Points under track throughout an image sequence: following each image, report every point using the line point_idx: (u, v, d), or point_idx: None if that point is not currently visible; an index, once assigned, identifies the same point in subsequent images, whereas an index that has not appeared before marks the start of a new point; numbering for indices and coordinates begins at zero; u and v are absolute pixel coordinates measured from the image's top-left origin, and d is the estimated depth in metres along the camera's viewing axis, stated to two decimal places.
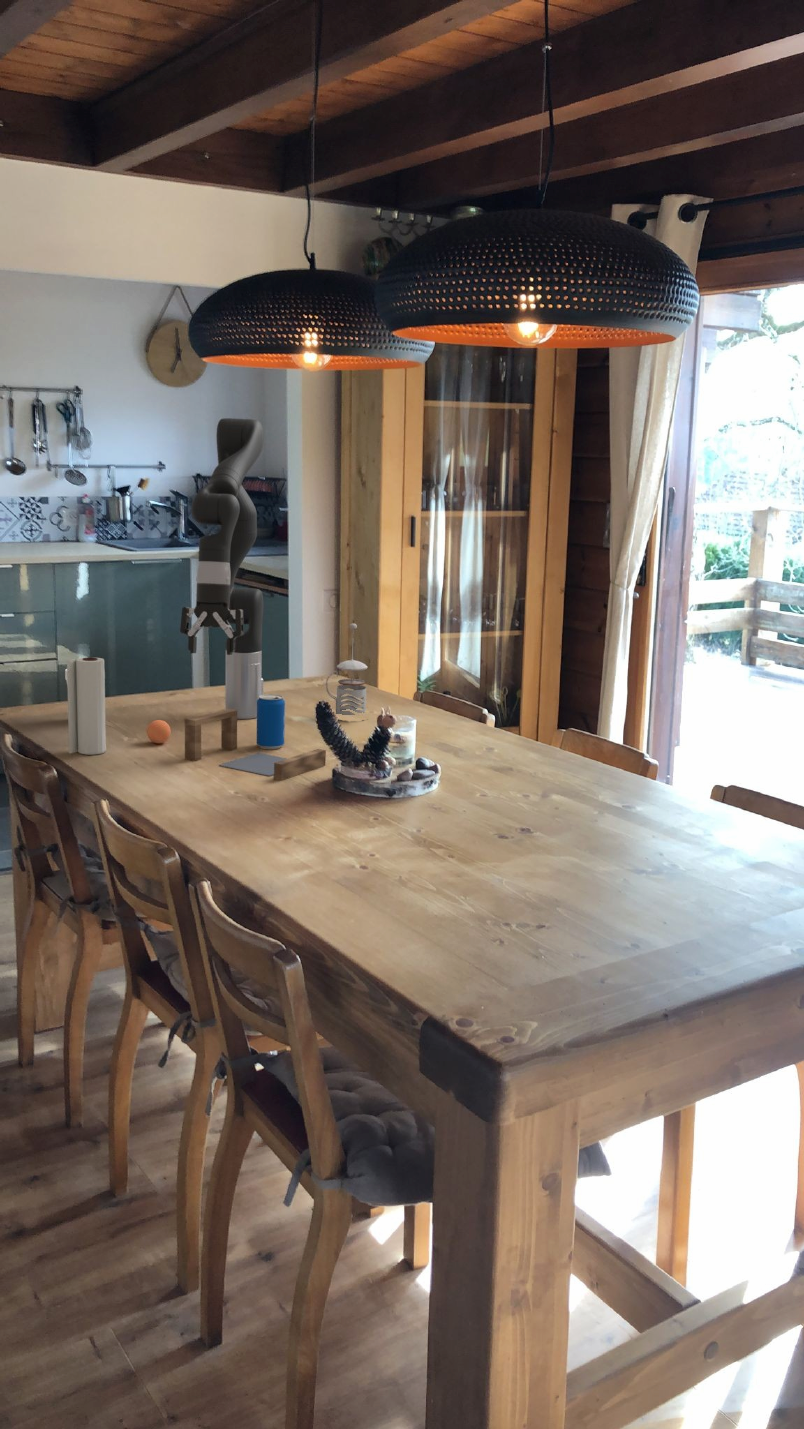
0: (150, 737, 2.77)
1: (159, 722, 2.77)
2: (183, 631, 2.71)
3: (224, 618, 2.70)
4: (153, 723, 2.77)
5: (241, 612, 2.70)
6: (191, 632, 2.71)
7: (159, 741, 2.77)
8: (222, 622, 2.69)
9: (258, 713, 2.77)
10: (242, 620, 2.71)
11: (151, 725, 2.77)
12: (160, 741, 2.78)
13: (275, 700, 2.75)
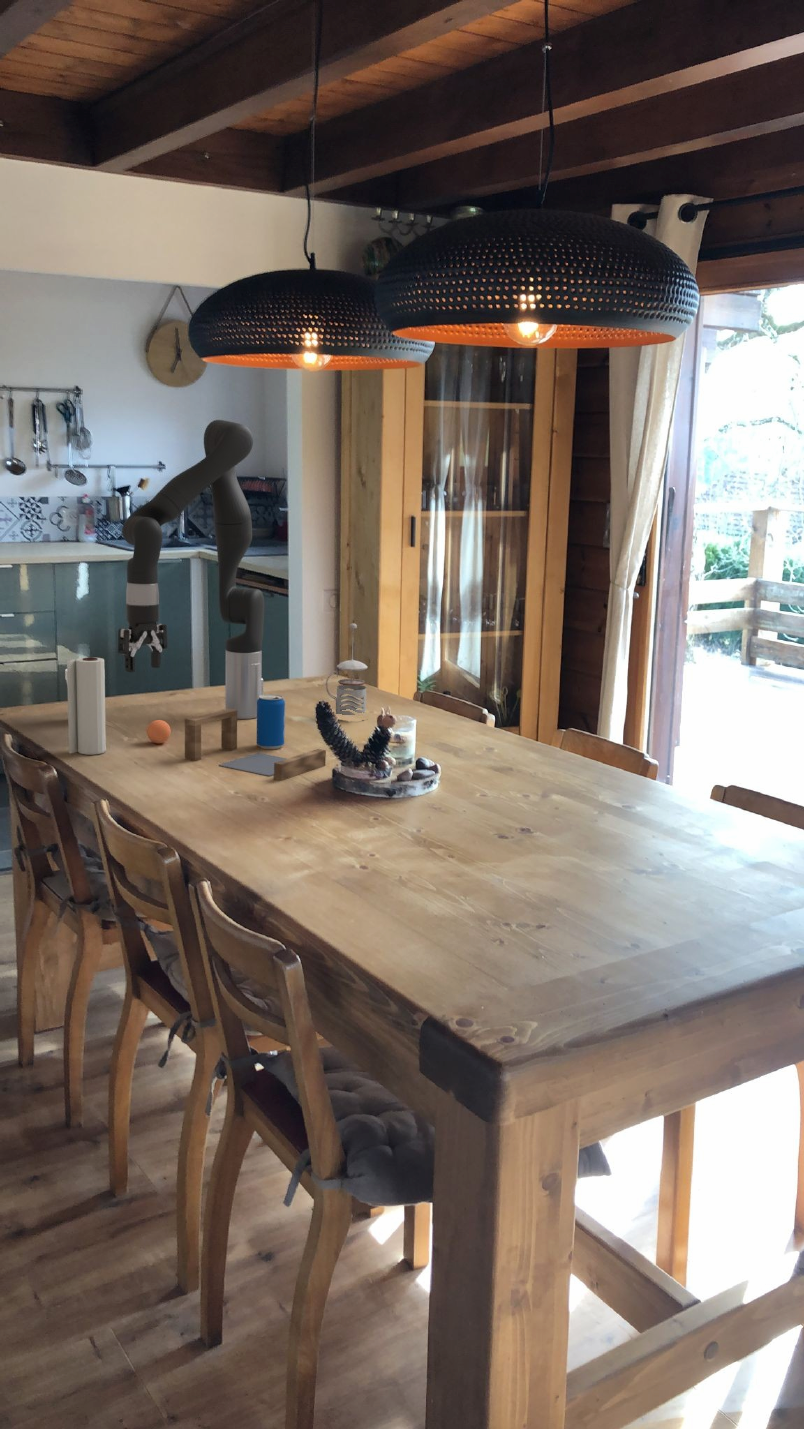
0: (150, 737, 2.77)
1: (159, 722, 2.77)
2: None
3: None
4: (153, 723, 2.77)
5: (121, 632, 2.77)
6: None
7: (159, 741, 2.77)
8: None
9: (258, 713, 2.77)
10: (123, 640, 2.77)
11: (151, 725, 2.77)
12: (160, 741, 2.78)
13: (275, 700, 2.75)
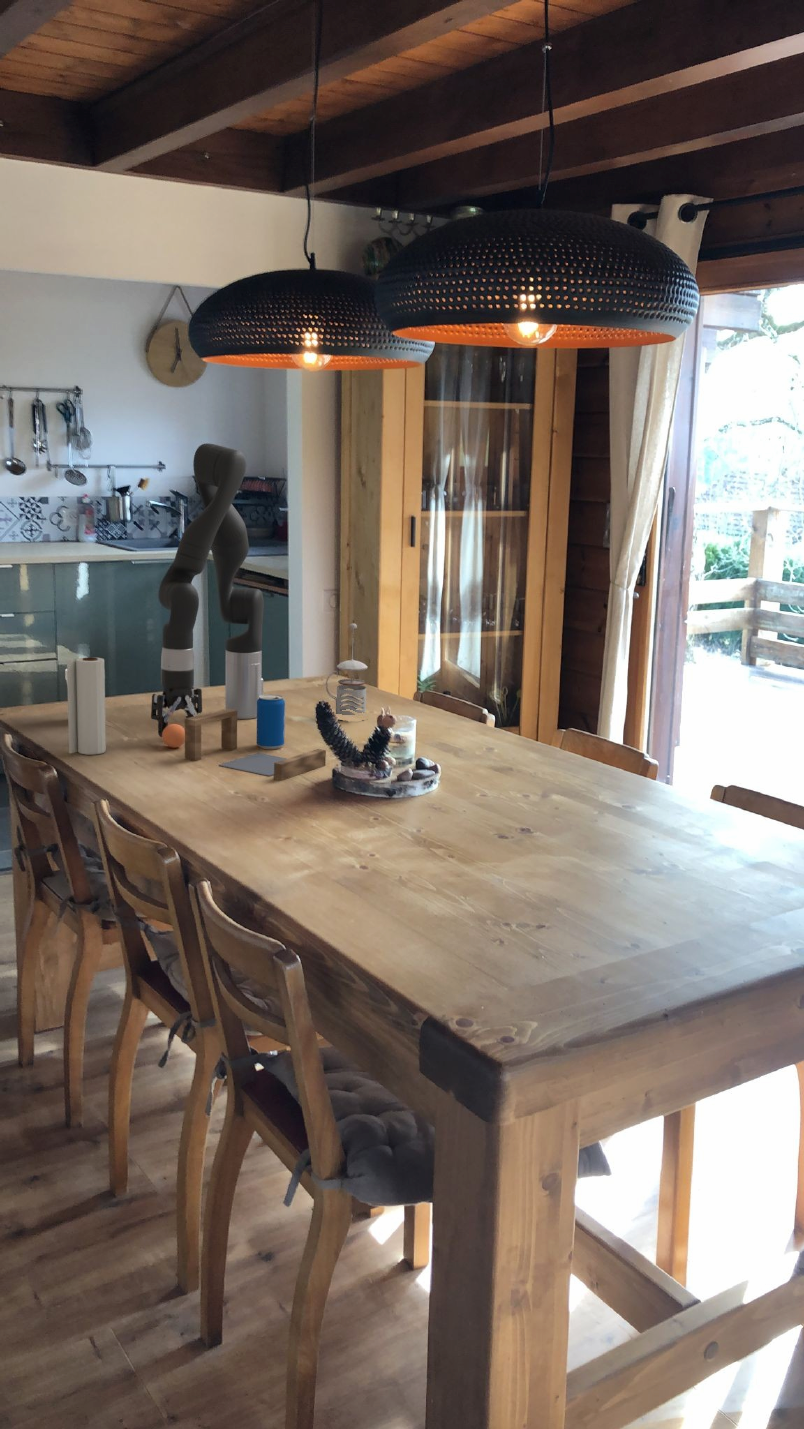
0: (163, 738, 2.74)
1: (179, 740, 2.74)
2: None
3: None
4: (175, 737, 2.73)
5: (154, 697, 2.74)
6: None
7: None
8: None
9: (258, 713, 2.77)
10: (156, 705, 2.74)
11: (172, 737, 2.73)
12: None
13: (275, 700, 2.75)
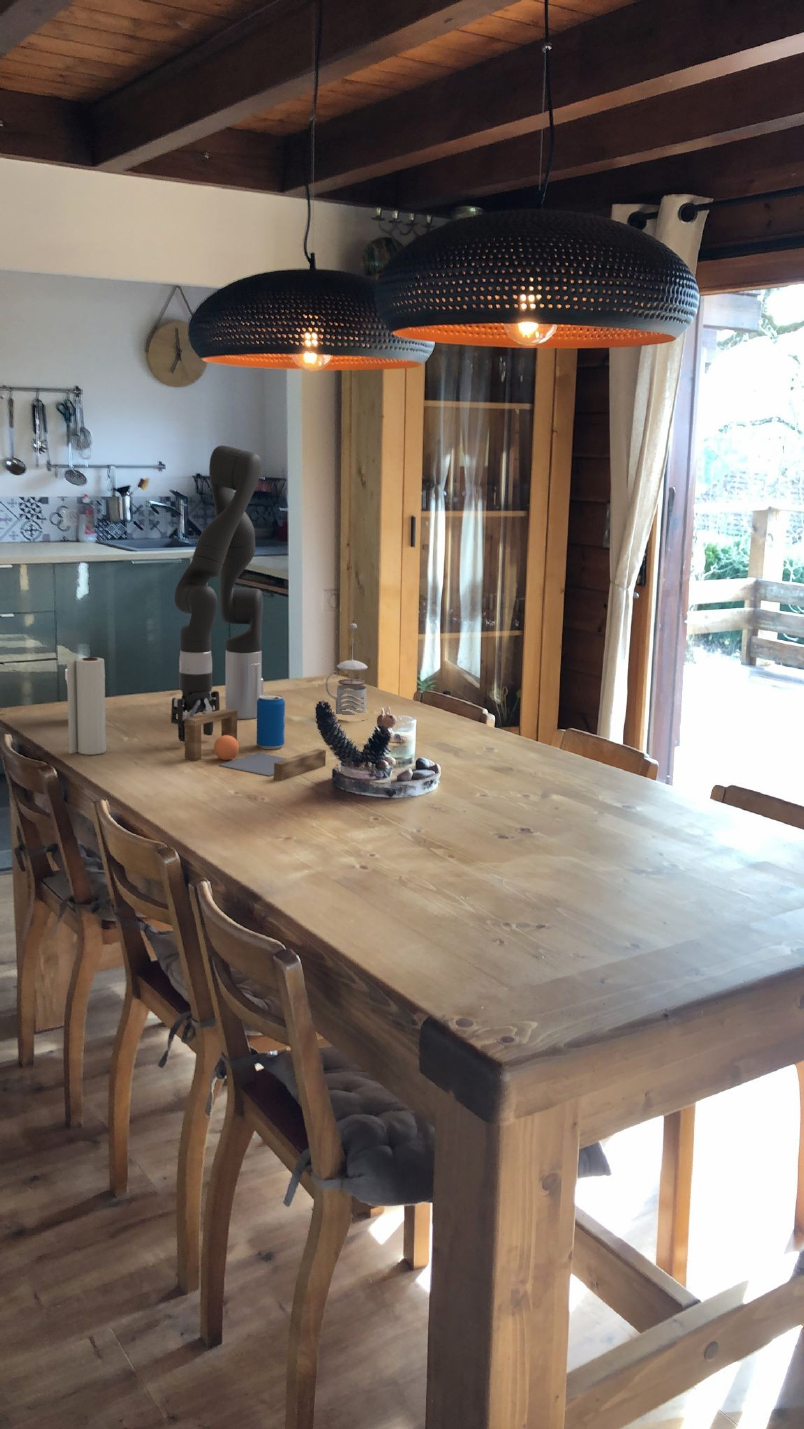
0: (216, 753, 2.65)
1: (232, 745, 2.64)
2: None
3: None
4: (226, 744, 2.64)
5: (174, 701, 2.72)
6: None
7: (223, 759, 2.66)
8: None
9: (258, 713, 2.77)
10: (176, 709, 2.72)
11: (223, 745, 2.64)
12: None
13: (275, 700, 2.75)
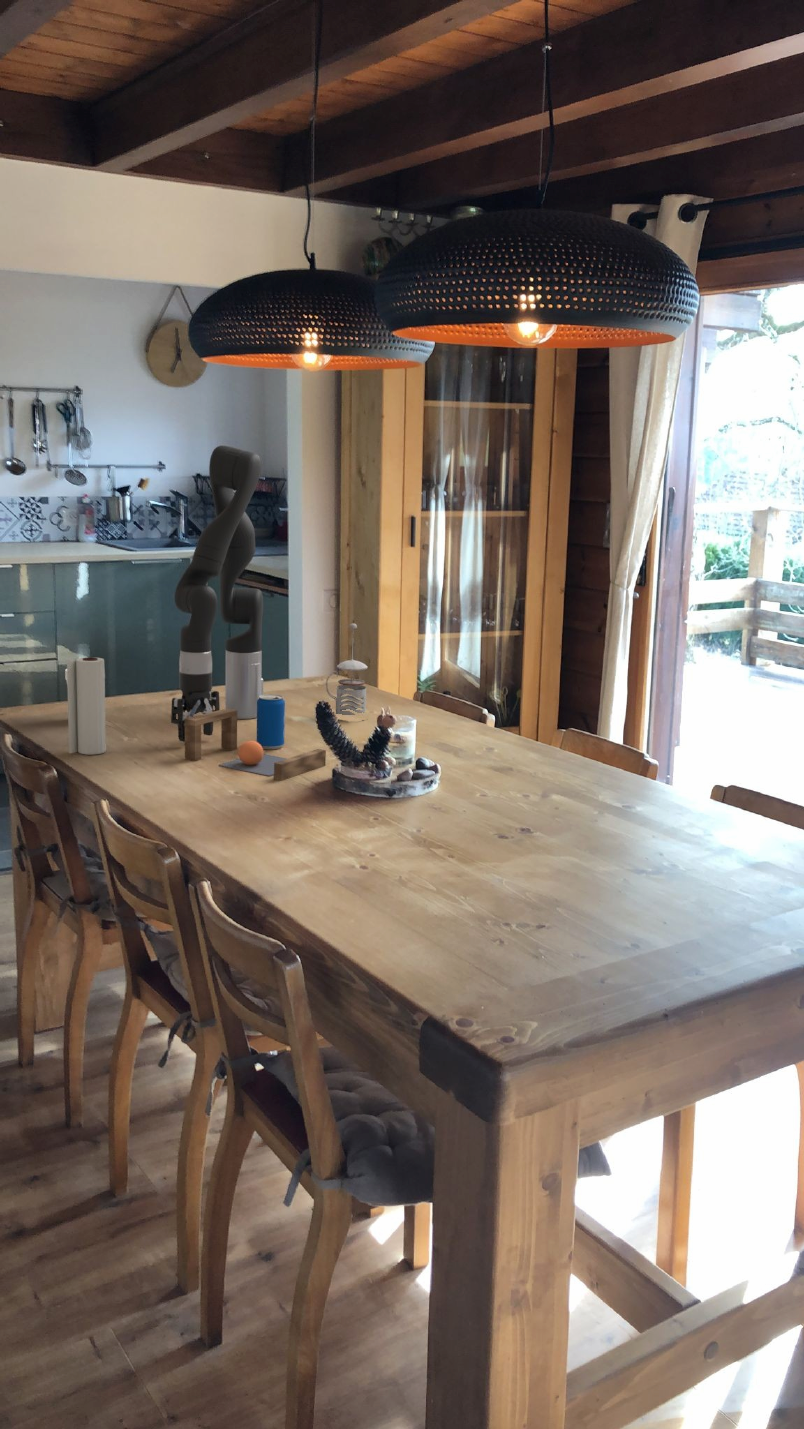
0: (243, 749, 2.60)
1: None
2: None
3: None
4: (243, 762, 2.62)
5: (174, 701, 2.72)
6: None
7: (244, 742, 2.62)
8: None
9: (258, 713, 2.77)
10: (176, 709, 2.72)
11: (242, 761, 2.61)
12: (245, 742, 2.62)
13: (275, 700, 2.75)
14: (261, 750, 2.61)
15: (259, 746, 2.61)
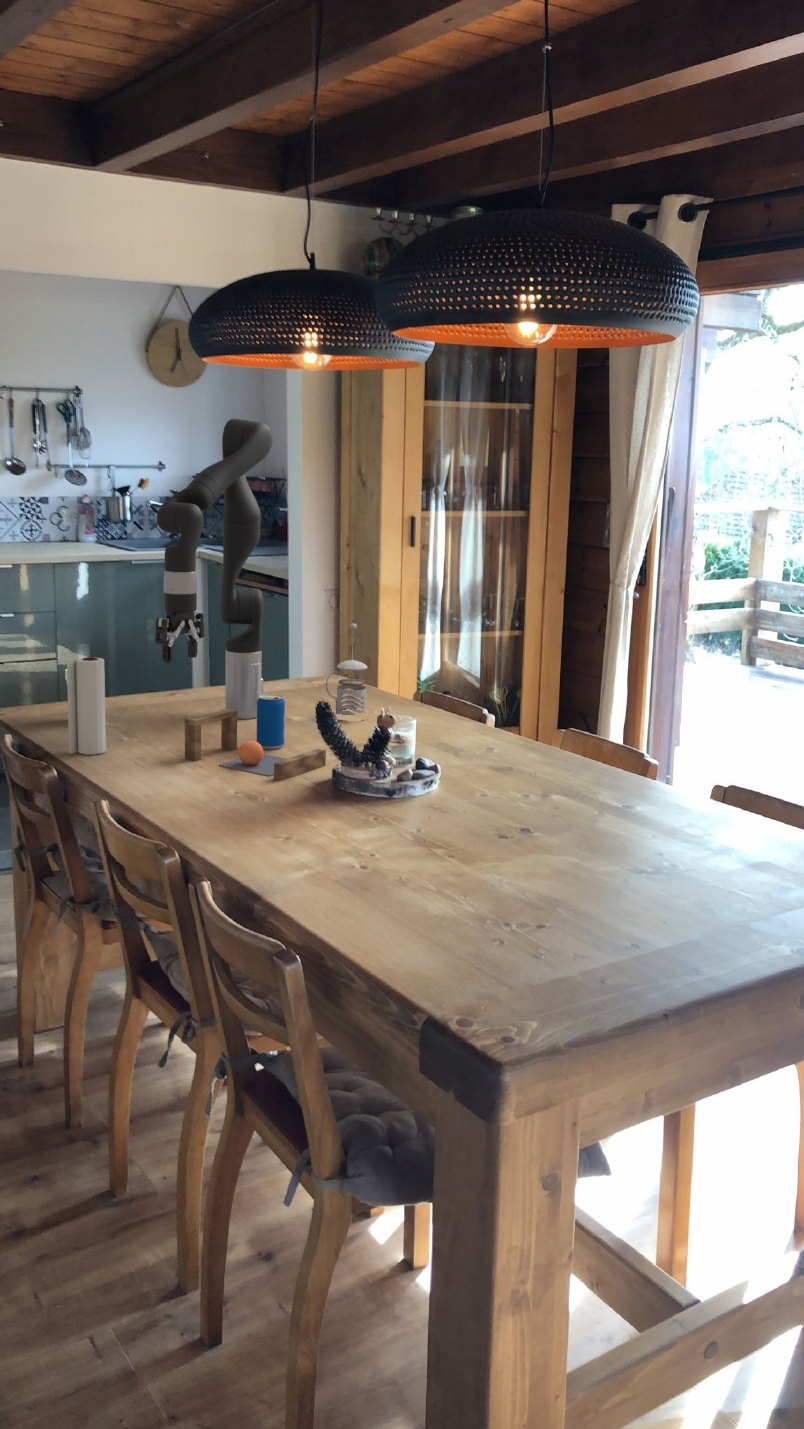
0: (243, 749, 2.60)
1: None
2: None
3: None
4: (243, 762, 2.62)
5: (158, 621, 2.71)
6: None
7: (244, 742, 2.62)
8: None
9: (258, 713, 2.77)
10: (160, 629, 2.71)
11: (242, 761, 2.61)
12: (245, 742, 2.62)
13: (275, 700, 2.75)
14: (261, 750, 2.61)
15: (259, 746, 2.61)
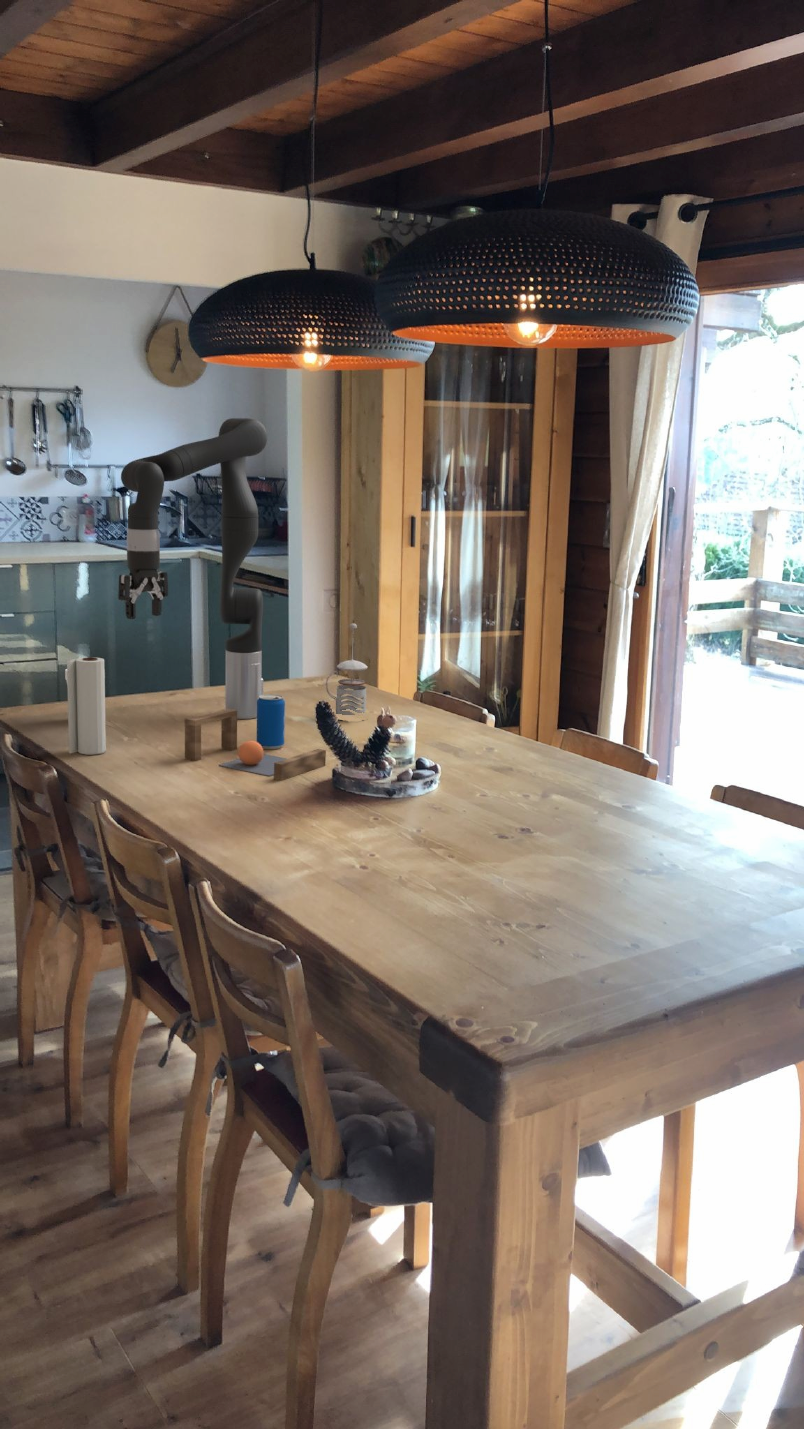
0: (243, 749, 2.60)
1: None
2: None
3: None
4: (243, 762, 2.62)
5: (121, 577, 2.76)
6: None
7: (244, 742, 2.62)
8: None
9: (258, 713, 2.77)
10: (123, 586, 2.76)
11: (242, 761, 2.61)
12: (245, 742, 2.62)
13: (275, 700, 2.75)
14: (261, 750, 2.61)
15: (259, 746, 2.61)
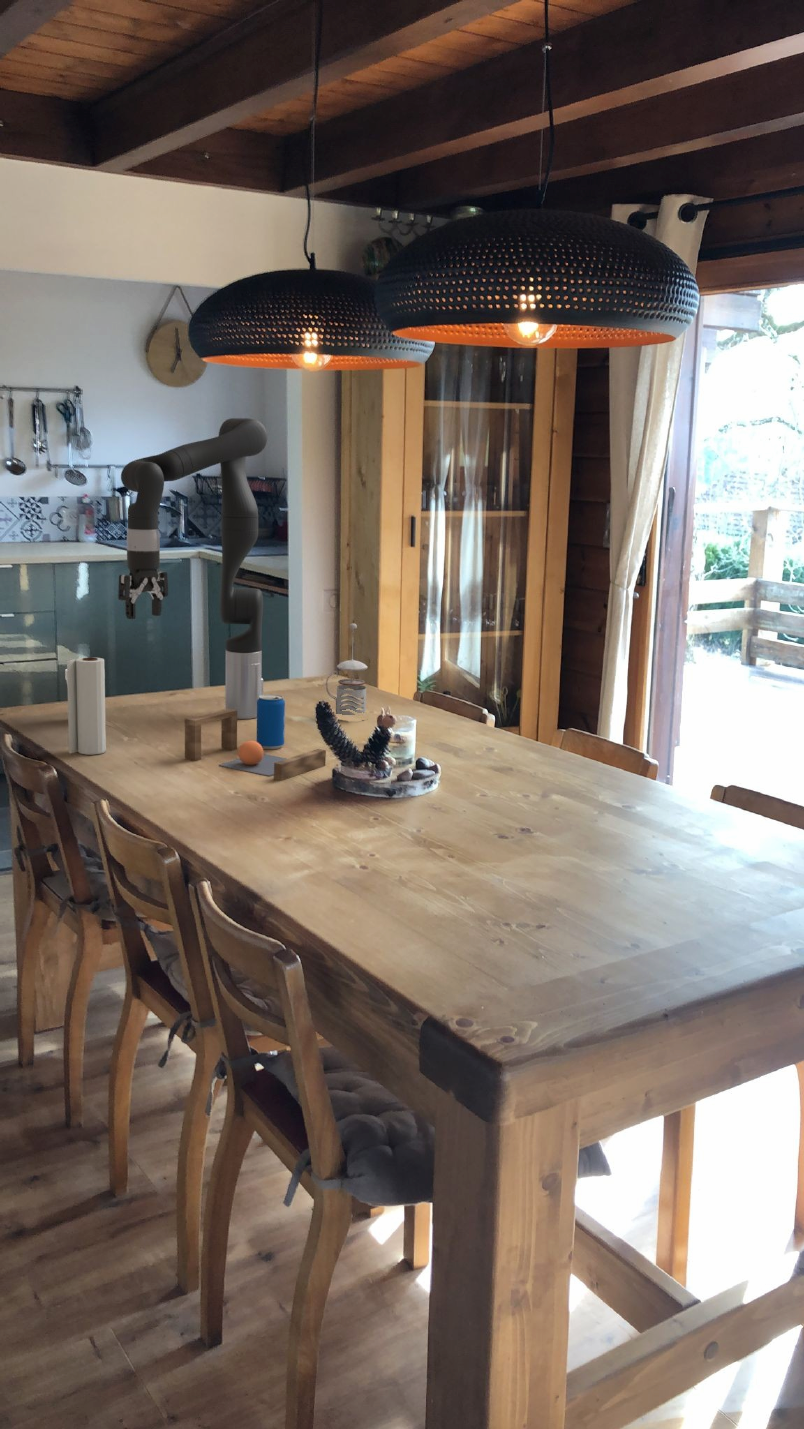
0: (243, 749, 2.60)
1: None
2: None
3: None
4: (243, 762, 2.62)
5: (121, 577, 2.76)
6: None
7: (244, 742, 2.62)
8: None
9: (258, 713, 2.77)
10: (123, 586, 2.76)
11: (242, 761, 2.61)
12: (245, 742, 2.62)
13: (275, 700, 2.75)
14: (261, 750, 2.61)
15: (259, 746, 2.61)
